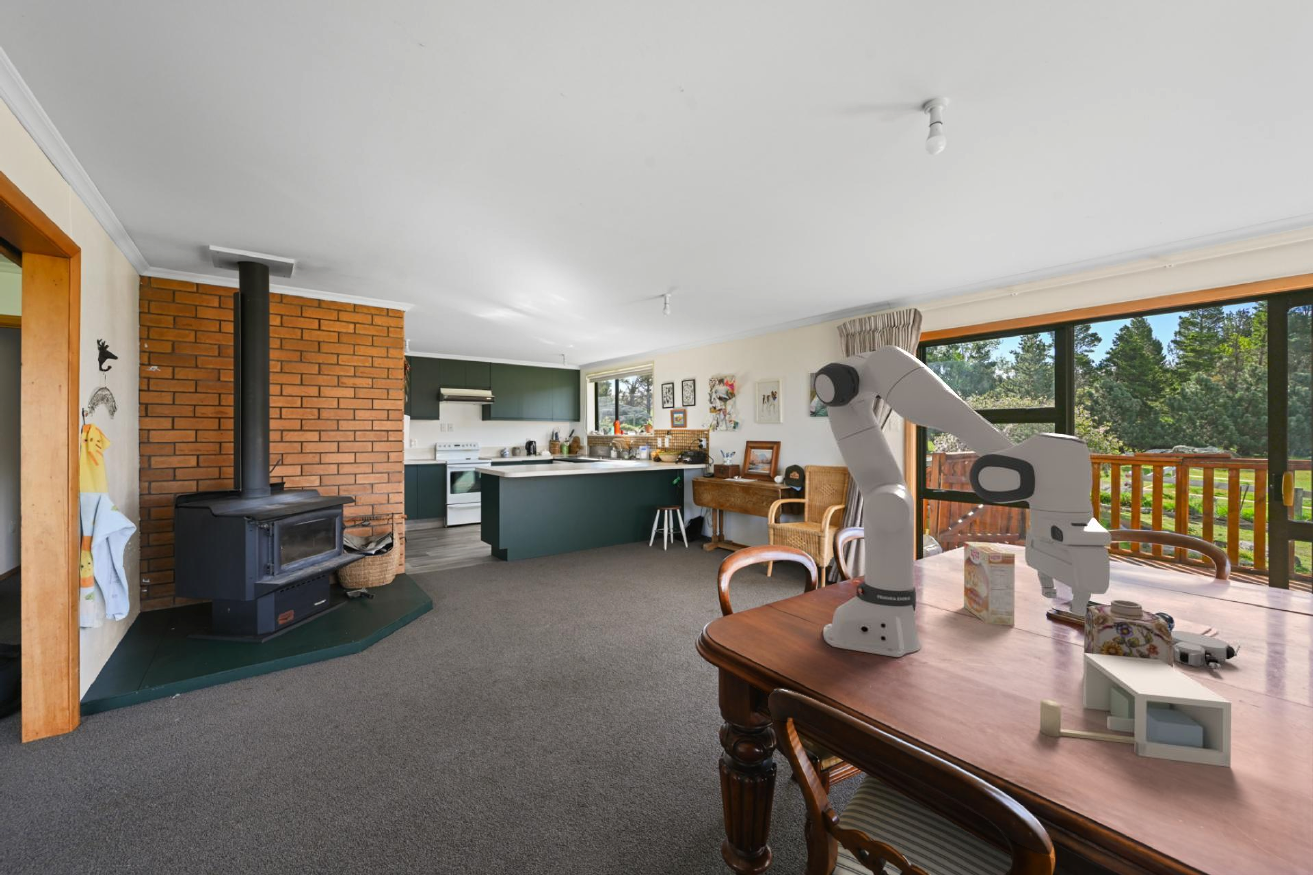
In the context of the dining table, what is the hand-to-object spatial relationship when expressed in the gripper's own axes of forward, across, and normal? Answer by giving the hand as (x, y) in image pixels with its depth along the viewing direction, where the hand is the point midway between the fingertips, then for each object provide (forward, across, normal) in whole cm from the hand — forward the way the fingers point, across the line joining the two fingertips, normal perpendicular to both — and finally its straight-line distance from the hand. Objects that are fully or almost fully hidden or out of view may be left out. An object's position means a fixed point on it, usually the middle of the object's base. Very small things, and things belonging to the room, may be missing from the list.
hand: (1062, 605), depth 92 cm
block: (+22, -6, +14) cm, 27 cm away
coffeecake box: (+22, -61, +9) cm, 65 cm away
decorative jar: (+22, -18, +19) cm, 34 cm away
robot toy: (+23, -40, +44) cm, 63 cm away
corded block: (+22, +2, +6) cm, 23 cm away
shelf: (+22, -2, +13) cm, 26 cm away
